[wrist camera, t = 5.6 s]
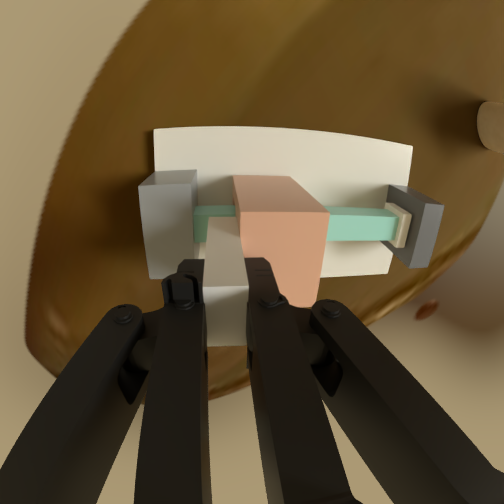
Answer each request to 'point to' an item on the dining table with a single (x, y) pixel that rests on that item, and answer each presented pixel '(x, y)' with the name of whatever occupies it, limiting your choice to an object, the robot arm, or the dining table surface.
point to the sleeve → (283, 232)
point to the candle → (491, 125)
